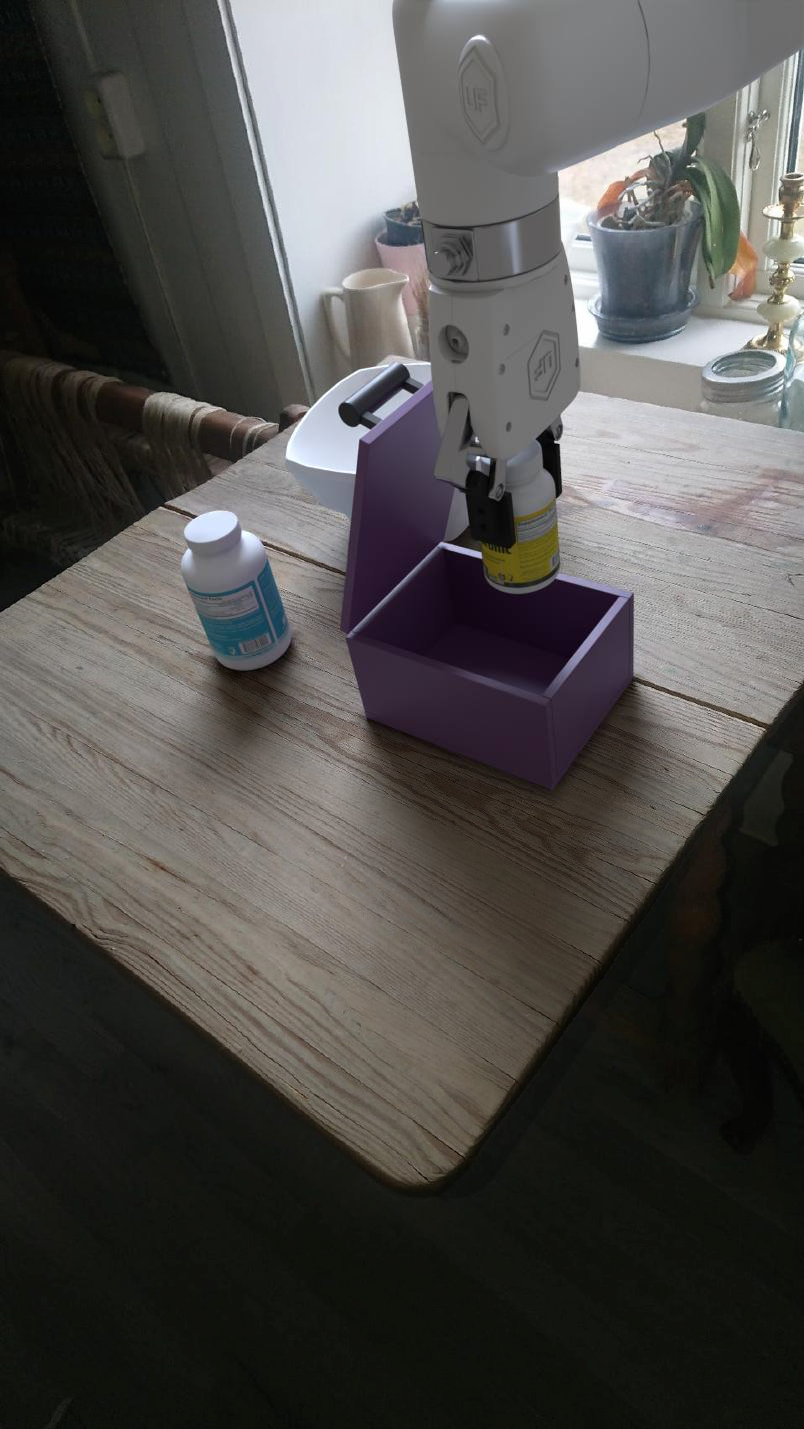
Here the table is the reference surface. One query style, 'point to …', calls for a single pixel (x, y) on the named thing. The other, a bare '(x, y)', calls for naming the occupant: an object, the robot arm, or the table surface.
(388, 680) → the purple box
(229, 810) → the table surface
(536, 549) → the supplement bottle
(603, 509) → the table surface
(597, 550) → the table surface
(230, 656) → the pill bottle
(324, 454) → the bowl
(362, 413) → the lid
